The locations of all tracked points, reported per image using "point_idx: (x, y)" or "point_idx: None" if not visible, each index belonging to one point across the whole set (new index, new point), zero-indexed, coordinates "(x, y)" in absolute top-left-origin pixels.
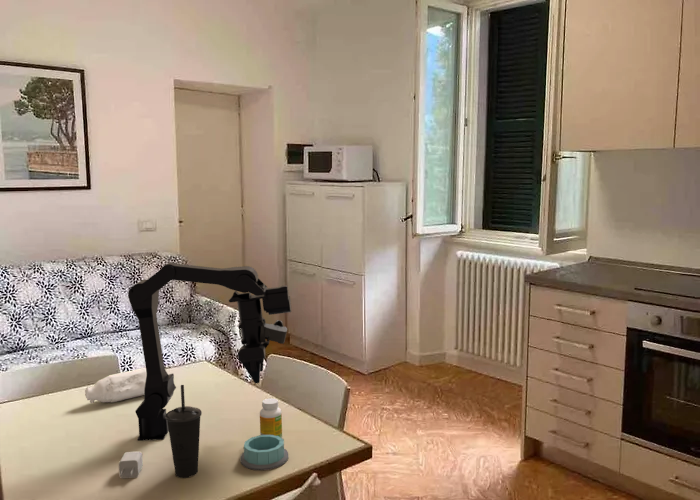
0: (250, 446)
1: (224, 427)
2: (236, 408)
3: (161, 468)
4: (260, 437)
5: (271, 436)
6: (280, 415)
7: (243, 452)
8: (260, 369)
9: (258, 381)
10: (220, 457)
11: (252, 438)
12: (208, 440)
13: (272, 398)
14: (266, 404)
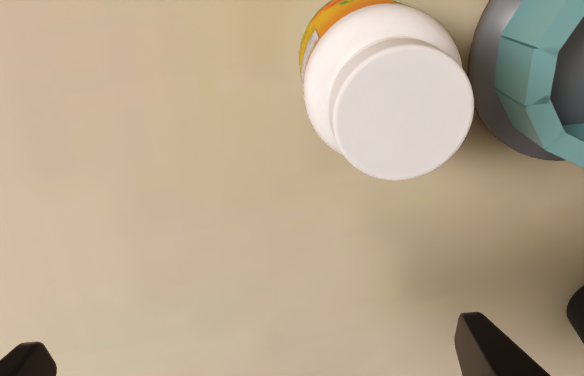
0: (572, 134)
1: (231, 273)
2: (18, 270)
3: (546, 368)
4: (548, 100)
5: (561, 36)
6: (410, 7)
7: (531, 155)
8: (38, 374)
9: (489, 329)
10: (514, 230)
11: (557, 140)
12: (354, 298)
13: (343, 108)
14: (463, 136)
